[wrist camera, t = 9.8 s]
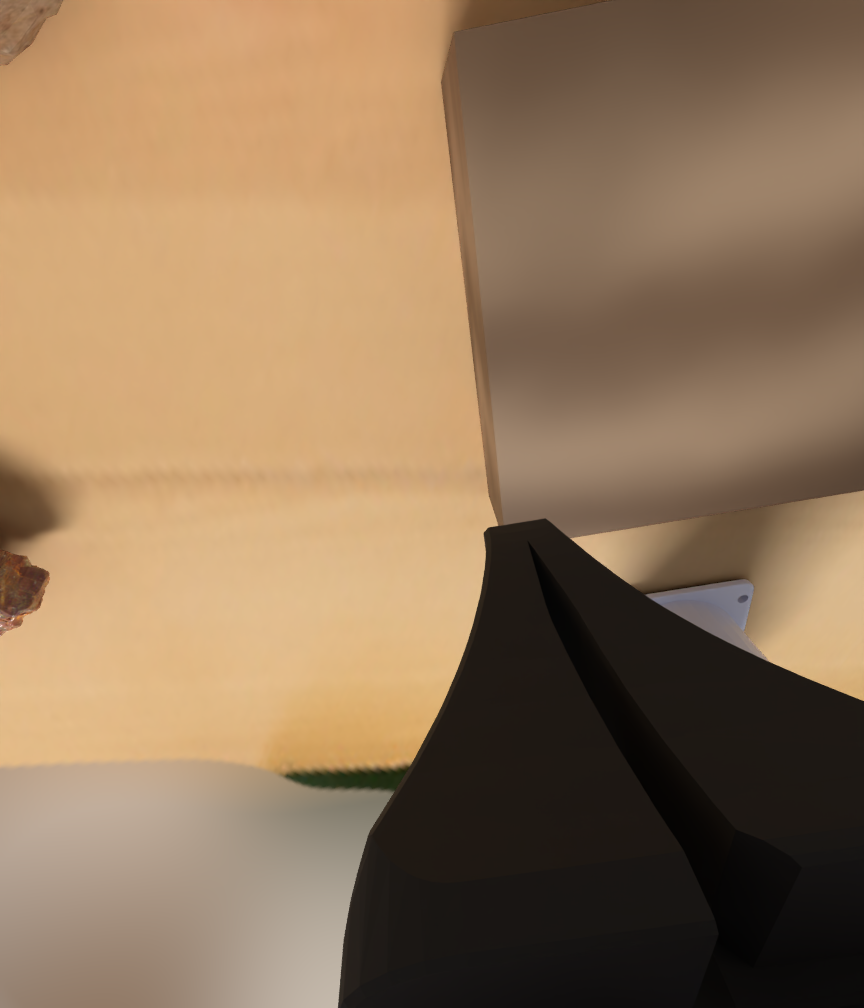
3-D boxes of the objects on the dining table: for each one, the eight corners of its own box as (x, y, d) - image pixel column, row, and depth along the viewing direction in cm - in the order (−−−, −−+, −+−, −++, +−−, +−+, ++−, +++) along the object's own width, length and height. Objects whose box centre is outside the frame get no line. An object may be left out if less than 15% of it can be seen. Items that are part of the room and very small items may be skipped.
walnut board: (860, 433, 20) (954, 475, 17) (489, 496, 21) (505, 548, 17) (1005, -30, 13) (1217, -122, 10) (441, 81, 14) (454, 31, 10)
